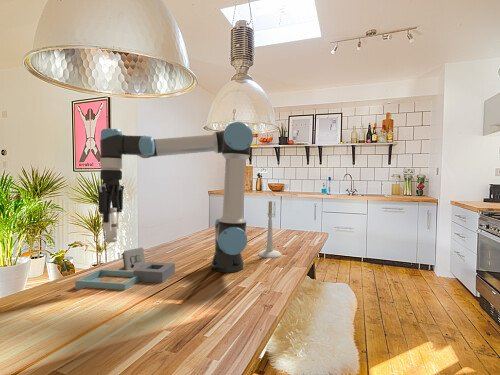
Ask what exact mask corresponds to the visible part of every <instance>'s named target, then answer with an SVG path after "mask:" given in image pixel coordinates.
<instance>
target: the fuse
mask: <svg viewBox="0 0 500 375" xmlns="http://www.w3.org/2000/svg"><path fill="white" fill-rule="evenodd" d="M109 214H111V231H104V232H105V234H104V235H105V237H104V238H105V240H104V241H105V243H109V244H110V243H116V242H118V229H117V208H112V207H110V213H109Z"/></svg>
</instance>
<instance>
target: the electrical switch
mask: <svg viewBox="0 0 500 375" xmlns="http://www.w3.org/2000/svg"><path fill="white" fill-rule="evenodd" d="M144 250H145V249H144V247H137V248H132V249H127V250H124V251H123V252H122V255H121V256H122V261H123V267H124V269H125V271H131V270H132V269H137V268H139V267H141V266H143V265H144V264H146V263H147V262H146V257H145V251H144Z"/></svg>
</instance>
